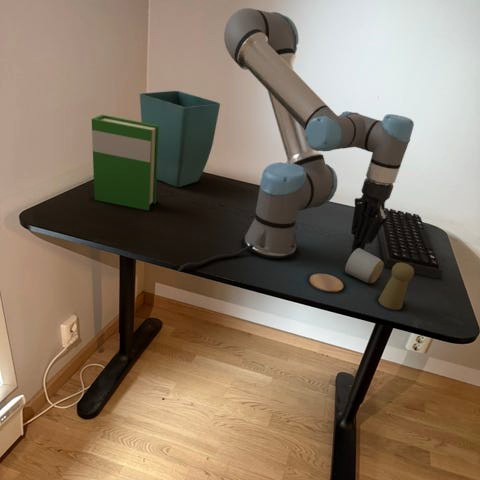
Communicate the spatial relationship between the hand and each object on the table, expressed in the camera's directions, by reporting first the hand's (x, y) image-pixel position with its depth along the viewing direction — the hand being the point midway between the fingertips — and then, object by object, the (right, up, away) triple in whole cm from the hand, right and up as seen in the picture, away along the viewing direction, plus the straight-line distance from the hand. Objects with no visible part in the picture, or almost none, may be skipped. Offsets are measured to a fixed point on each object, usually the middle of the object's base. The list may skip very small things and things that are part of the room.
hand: (353, 261), depth 130 cm
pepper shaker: (+6, -13, -14) cm, 20 cm away
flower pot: (-57, +35, +39) cm, 78 cm away
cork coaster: (-10, -7, -10) cm, 16 cm away
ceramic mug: (+1, -5, -4) cm, 6 cm away
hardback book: (-70, +21, +16) cm, 74 cm away
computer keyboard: (+22, +9, +22) cm, 32 cm away
